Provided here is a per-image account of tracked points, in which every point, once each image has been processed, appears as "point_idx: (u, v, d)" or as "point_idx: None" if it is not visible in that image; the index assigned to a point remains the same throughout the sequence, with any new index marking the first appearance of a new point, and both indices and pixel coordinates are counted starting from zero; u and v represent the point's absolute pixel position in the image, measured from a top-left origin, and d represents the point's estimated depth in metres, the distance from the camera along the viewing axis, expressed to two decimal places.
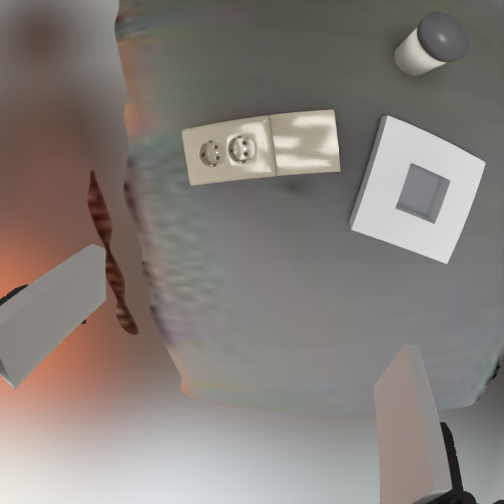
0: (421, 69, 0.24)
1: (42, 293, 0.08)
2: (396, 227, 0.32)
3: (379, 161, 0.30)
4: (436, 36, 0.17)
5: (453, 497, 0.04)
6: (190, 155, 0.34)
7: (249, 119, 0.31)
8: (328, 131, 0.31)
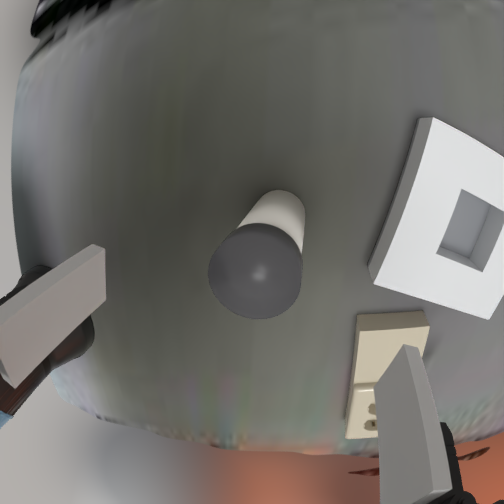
0: None
1: (42, 293, 0.08)
2: (501, 268, 0.20)
3: (428, 294, 0.22)
4: (263, 300, 0.16)
5: (453, 497, 0.04)
6: (370, 435, 0.31)
7: (354, 401, 0.29)
8: (384, 337, 0.26)
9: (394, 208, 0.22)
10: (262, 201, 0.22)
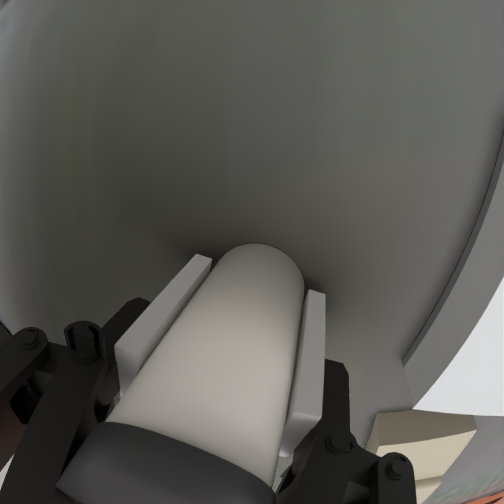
0: None
1: None
2: None
3: (487, 409, 0.11)
4: None
5: (318, 434, 0.06)
6: None
7: None
8: (413, 448, 0.14)
9: (464, 282, 0.11)
10: (212, 284, 0.11)
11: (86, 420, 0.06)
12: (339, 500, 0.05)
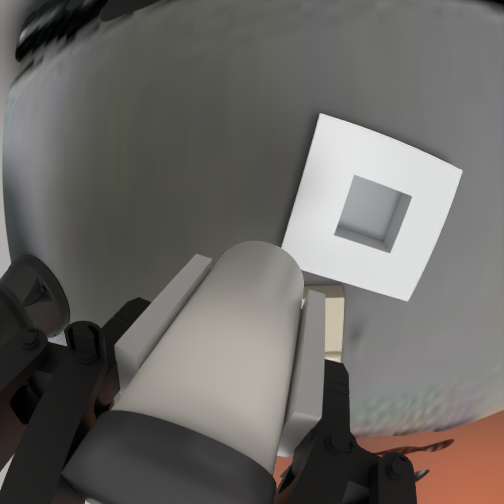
0: None
1: None
2: (412, 249, 0.25)
3: (332, 273, 0.28)
4: None
5: (318, 434, 0.06)
6: None
7: None
8: None
9: (296, 196, 0.28)
10: (214, 280, 0.11)
11: (86, 420, 0.06)
12: (339, 500, 0.05)
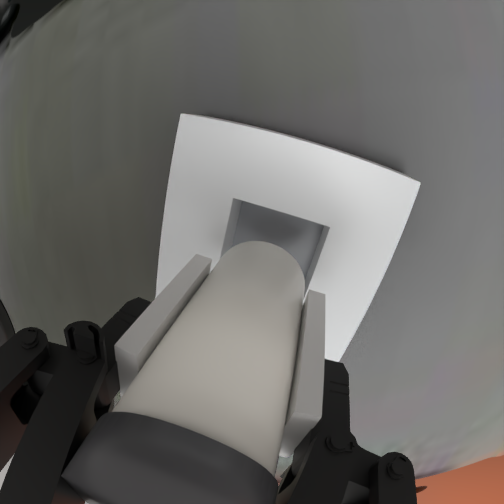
0: None
1: None
2: (335, 304, 0.18)
3: None
4: None
5: (318, 434, 0.06)
6: None
7: None
8: None
9: None
10: (215, 280, 0.11)
11: (86, 420, 0.06)
12: (339, 500, 0.05)
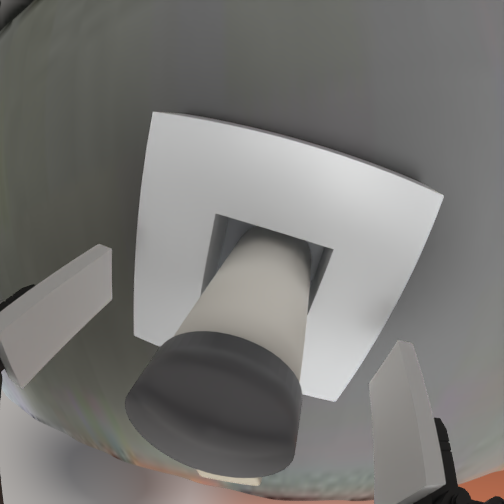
0: None
1: (50, 293, 0.08)
2: (337, 336, 0.15)
3: None
4: (226, 462, 0.07)
5: (447, 493, 0.05)
6: (225, 479, 0.26)
7: None
8: None
9: None
10: (241, 250, 0.14)
11: None
12: None
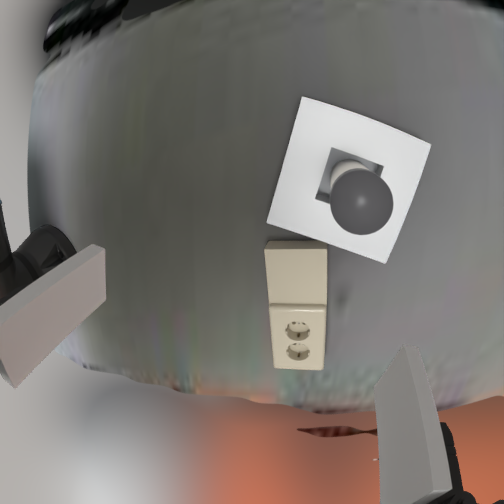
0: None
1: (42, 293, 0.08)
2: None
3: (315, 233, 0.32)
4: (367, 219, 0.21)
5: (453, 497, 0.04)
6: (296, 366, 0.39)
7: (271, 321, 0.37)
8: (286, 256, 0.34)
9: None
10: (345, 163, 0.27)
11: None
12: None
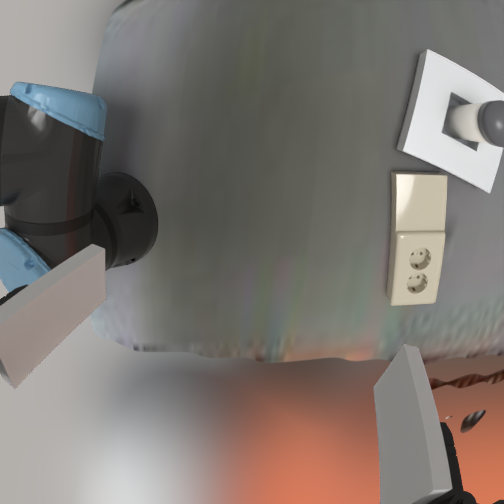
0: None
1: (42, 293, 0.08)
2: (489, 150, 0.27)
3: (441, 163, 0.30)
4: None
5: (453, 497, 0.04)
6: (413, 300, 0.37)
7: (398, 249, 0.35)
8: (415, 181, 0.32)
9: (409, 106, 0.30)
10: None
11: None
12: None
